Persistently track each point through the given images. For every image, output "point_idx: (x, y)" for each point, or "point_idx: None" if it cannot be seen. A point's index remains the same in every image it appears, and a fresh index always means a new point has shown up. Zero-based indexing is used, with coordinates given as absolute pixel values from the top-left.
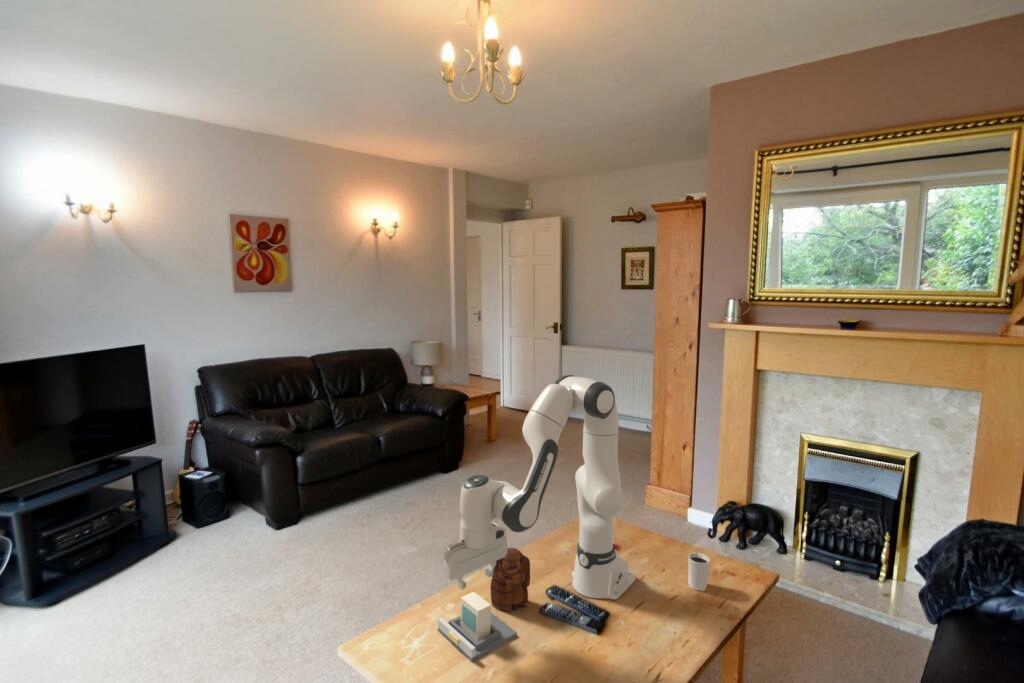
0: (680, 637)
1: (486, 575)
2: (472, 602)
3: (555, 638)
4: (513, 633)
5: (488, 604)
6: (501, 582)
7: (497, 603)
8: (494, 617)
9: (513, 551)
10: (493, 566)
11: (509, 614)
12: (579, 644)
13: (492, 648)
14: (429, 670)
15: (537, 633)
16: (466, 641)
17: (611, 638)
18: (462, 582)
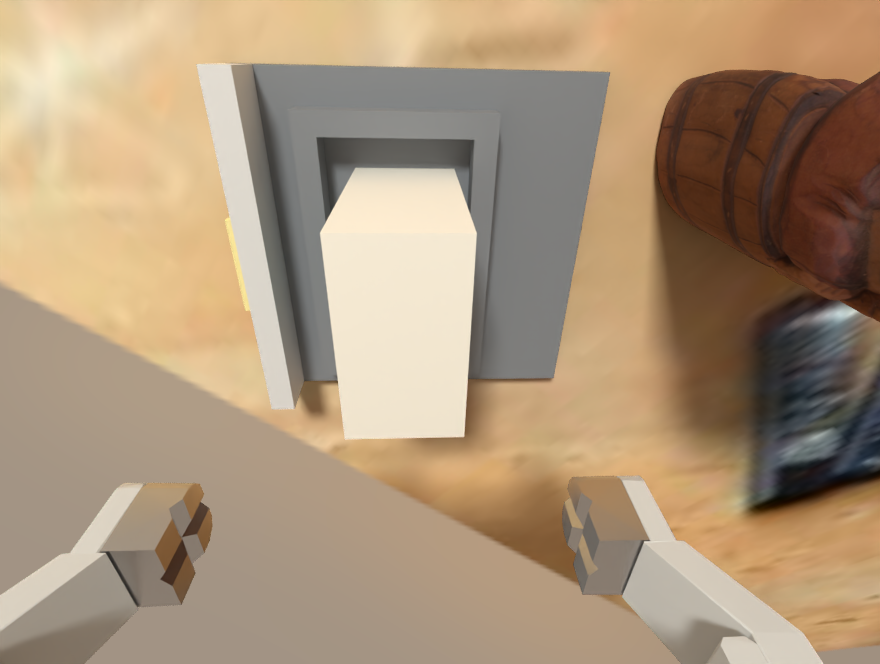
0: (857, 609)
1: (570, 497)
2: (370, 346)
3: (639, 454)
4: (537, 374)
5: (453, 427)
6: (787, 240)
7: (674, 162)
8: (566, 230)
9: None
10: (683, 659)
11: (659, 235)
12: (663, 507)
13: None
14: (86, 305)
15: (621, 403)
16: (277, 357)
17: (752, 537)
18: (98, 640)
